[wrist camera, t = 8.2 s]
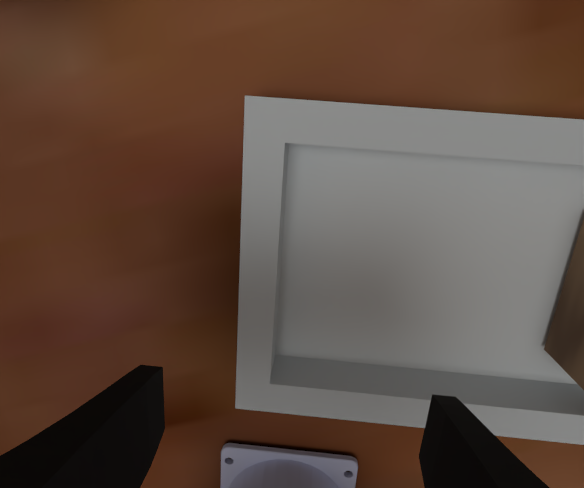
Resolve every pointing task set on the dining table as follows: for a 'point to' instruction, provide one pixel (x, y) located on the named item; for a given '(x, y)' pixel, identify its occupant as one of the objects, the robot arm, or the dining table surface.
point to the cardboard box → (570, 319)
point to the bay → (407, 263)
